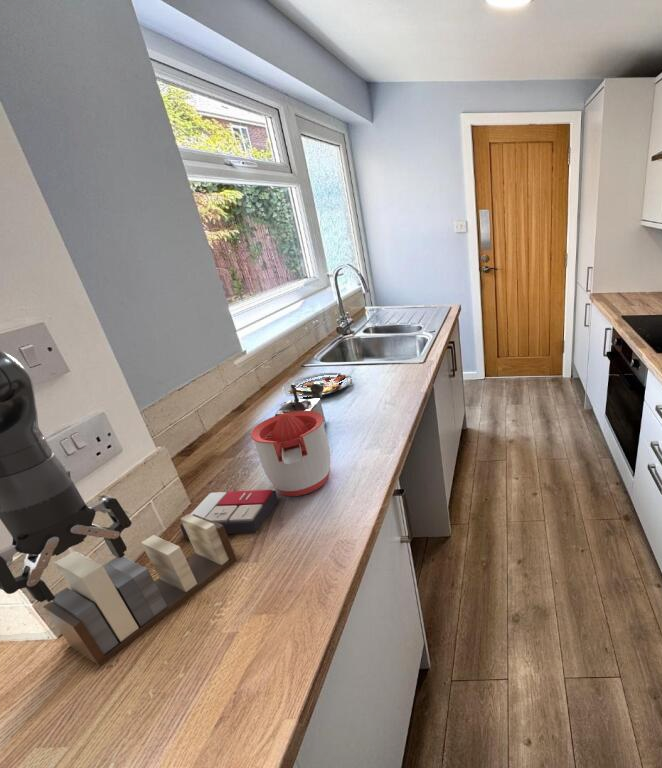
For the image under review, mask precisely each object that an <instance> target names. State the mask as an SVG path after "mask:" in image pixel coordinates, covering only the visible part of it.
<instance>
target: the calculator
mask: <svg viewBox="0 0 662 768" xmlns="http://www.w3.org/2000/svg"><path fill="white" fill-rule="evenodd" d="M278 502H279V497H278V495H277V490H276V489H275V490H273V489H258V490H257V489H256V490H229V491H222V492H221V491H220V492H217V491H216V492H209V493H208V494H207V495H206V496H205V497H204V499H202V500H201V502H200V503H199V504H198V505H197V506H196V507H195V508H194V509H193V510H192V511H191V513H189V514H190V515H193V514H195V515H198V516H200V517H203V518H205V519H208V520H211V521H213V522H216V523H218V524H221V525H223V526H224V529H225V531H226V534H227V535H238V534H256V533H257V532H258V531H259V530H260V528H261V527H262V526H263V524H264V522H265V521H266V519H267V518H268V516H269V515H270V514H271V512H272V511H273V509H274V508H275V506H276V505H277V503H278ZM179 528H180V529H181V532H182V535H183V538H184V539H189V537H188V535H187V533H186V530H185V528H184V526H183V524H182V522H181V523H180V524H179Z"/></svg>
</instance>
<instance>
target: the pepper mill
mask: <svg viewBox="0 0 662 768" xmlns="http://www.w3.org/2000/svg"><path fill="white" fill-rule="evenodd" d="M295 387H296V385H295V384H292V385H291V388H292V389H291V391H293V394H294V396H293V397H294V399H291V400H290V399H289V400H287V401H286V402H285V403H284V404H283V405H281V407H280V408H279V409H278V410H277V411H276V412H275V413H274V416H277V415H280V414H284V413H288V412H293V411H315V412H318V413H320V414H321V415H322V416H323V424H324V428H326V424H327V422H326V418H325V417H326V416H325V414H324V409H323V405H322V400H321V398H322V397H323V395H321V392H322V391H323V390H324V386H323V384H322V383H319V382H315V383H312V384H311V385H310V390H311V391H305V390H298V389H296V388H295ZM296 392H299V393H306V394H312V396H311V398H307V399H306V398H299V396H297V393H296ZM324 422H325V423H324Z"/></svg>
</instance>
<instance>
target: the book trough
mask: <svg viewBox="0 0 662 768" xmlns="http://www.w3.org/2000/svg"><path fill="white" fill-rule="evenodd" d="M190 514H191V513H187V514H186V515H184V516H182V517H181V518H180V522H181V523H182V524H183V526H184V528H185V530H186V533H187V535H188V537H189V538H188V539H189V541H190V544H191V546H192V548H193V550H194V553H193V554H191V555H190V556H188V557H187V558H186V556H185V555H184V552H183V550H182V548H181V546H179V545H176V544H174V543H172V542H170V541H168V540H165V539H163V538H161V537H159V536H158V535H157V536H156V535H154V534H152V535H151V536H149V537H147V538H146V539H144V540H142V541H141V542H140V544H141V546H142V548H143V550H144V552H145V554H146V556H147V558H148V559H149V562H150V564H151V565H152V567H153V569H154V571H155V573H156V575H157V577H158V578H156V579H155V580H154V578H153V576H152V575H151V572H150V570H149V568H147V567H145V566H143V565H141V564H139V563H137V562H136V561H133V560H131V559H129V558H128V557H126V556H123V557H121V558H117V557H115V558H113V559H111V560H109V561H108V562H106V563H105V564H103V565H102V566H103V567H104V569H105V571H106V573H107V574H108V576H109V578H110V579H111V581H112V583H113V585H114V586H115V588H116V590H117V591H118V593H119V595H120V597H121V598H122V600H123V602H124V603H125V605H126V607H127V608H128V610H129V612H130V614H131V615H132V617H133V619H134V620H135V622H136V624H137V626H138V627H139V628H138V629H137V630H136V631H134V632H133V633H132V634H130V635H129V636H128V637H126V638H125V639H124V640H123V641H119V640H117V639H116V638H115V636H114V635H113V633H112V632H111V630H110V628H109V627H108V625H107V624H106V622H105V620H104V619H103V617H102V616H101V614H100V612H99V611H98V609H97V608H96V606H95V604H93V603H92V602H90V601H89V600H87V599H85V598H84V597H82V596H80V595H79V594H77V593H75V592H74V591H72V589H71V588H70V587H65V588H63V589H62V590H60V591H58V592H57V593H55V594H53V596H54V597H55V599H53V600H52V601H50V602H47V603H46V604H45V605H43V606H42V608H43V609H44V611H45V612H46V614H47V615H48V616H49V618H50V619H51V620H52V623H54V625H55V626H56V628H57V629H58V631H59V632H60V634H61V635H62V636H63V638H64V639H65V641H66V642H67V643H68V645H69V646H70V647H71V648H72V649H75V650H76V651H77V652H78V653H80V654H81V655H83V656H84V657H86V658H87V659H89V661H91V662H93V663H94V664H96V665H97V666H99V667H101V666H103V665H104V664H105V663H107V662H108V661H109V660H110V659H112V658H113V657H114V656H115V655H118V653H120V652H121V651H122V650H124V649H125V648H126V647H127V646H128V645H130V644H131V643H132V642H134V641H135V640H136V639H137V638H139V637H141V636H142V635H143V634H144V633H145V632H147V631H148V630H149V629H150V628H152V627H153V626H154V625H156V624H157V623H158V622H160V621H161V620H162V619H163V618H165V617H167V615H169V614H170V613H171V612H172V611H174V610H175V609H176V608H177V607H179V606H180V605H182V604H184V603H185V602H186V601H187V600H188V599H189V598H191V597H192V596H193V595H195V594H196V593H197V592H198V591H200V590H201V589H202V588H203V587H205V586H206V585H207V584H209V583H210V582H212V581H213V580H214V579H215V578H217V577H218V576H220V574H222V573H223V572H224V571H225V570H227V569H228V568H230V567H231V566H232V565H233V564H235V563H236V562H237V561H238V559H237V556H236V553H235V551H234V549H233V547H232V544H231V541H230V539H229V536H228V534H226V531H225V529H224V526H223V525H221V524H218V523H216V522H213V521H211V520H208V519H205V518H203V517H200V516H198V515H195V514H193V515H190Z"/></svg>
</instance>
